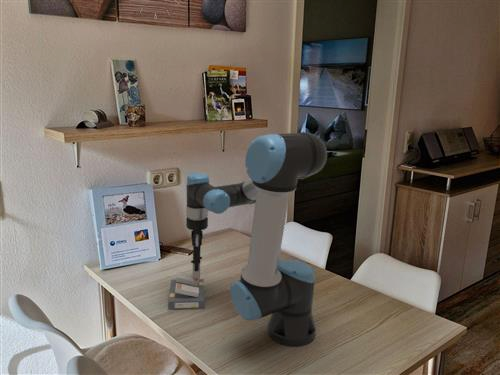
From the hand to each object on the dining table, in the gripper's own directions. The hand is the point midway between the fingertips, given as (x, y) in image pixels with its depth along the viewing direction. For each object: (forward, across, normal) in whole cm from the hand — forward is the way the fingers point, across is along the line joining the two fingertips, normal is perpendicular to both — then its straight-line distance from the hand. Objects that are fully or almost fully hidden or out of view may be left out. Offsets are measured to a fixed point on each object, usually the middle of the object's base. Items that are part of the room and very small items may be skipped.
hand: (196, 277), depth 162 cm
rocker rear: (0, -1, +3) cm, 3 cm away
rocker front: (0, -9, +3) cm, 9 cm away
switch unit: (+5, -5, +3) cm, 8 cm away
